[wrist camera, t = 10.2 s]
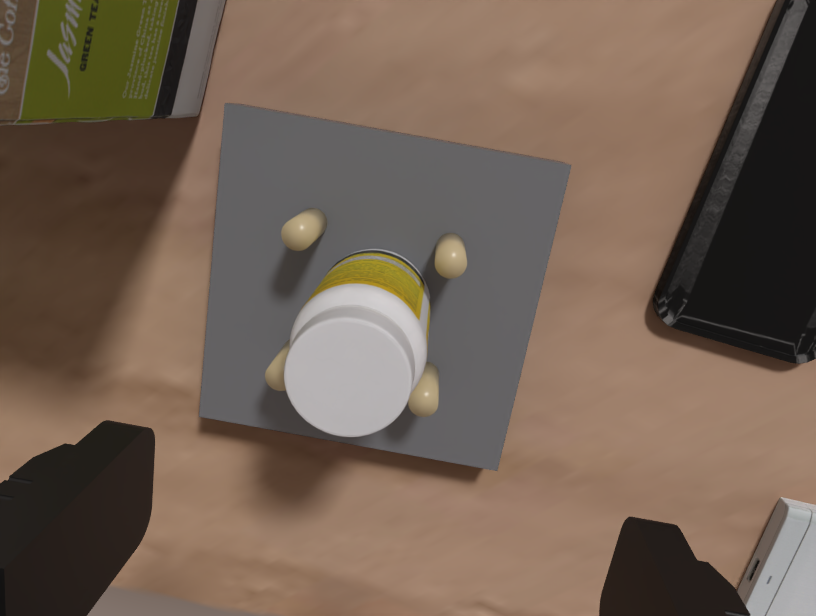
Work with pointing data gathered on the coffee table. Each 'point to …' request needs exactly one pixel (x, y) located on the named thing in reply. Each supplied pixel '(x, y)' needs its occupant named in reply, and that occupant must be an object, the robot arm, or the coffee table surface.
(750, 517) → the coffee table surface
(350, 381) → the supplement bottle
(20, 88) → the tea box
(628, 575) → the robot arm
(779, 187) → the phone
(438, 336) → the standoff chassis
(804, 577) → the hard drive
